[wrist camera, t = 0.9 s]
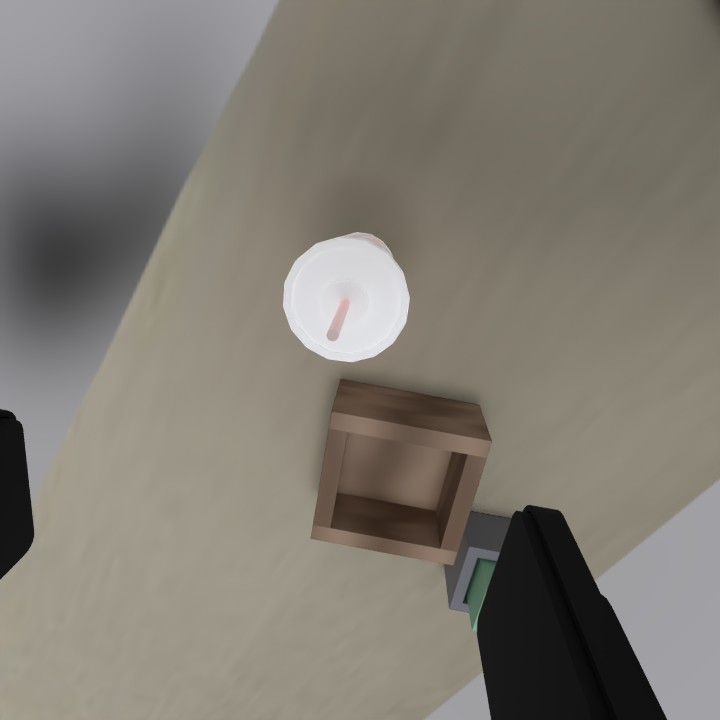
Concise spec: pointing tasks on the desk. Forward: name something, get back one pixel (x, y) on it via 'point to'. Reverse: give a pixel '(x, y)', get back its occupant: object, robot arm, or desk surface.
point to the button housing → (474, 554)
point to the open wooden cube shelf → (400, 472)
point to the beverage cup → (347, 298)
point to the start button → (478, 588)
